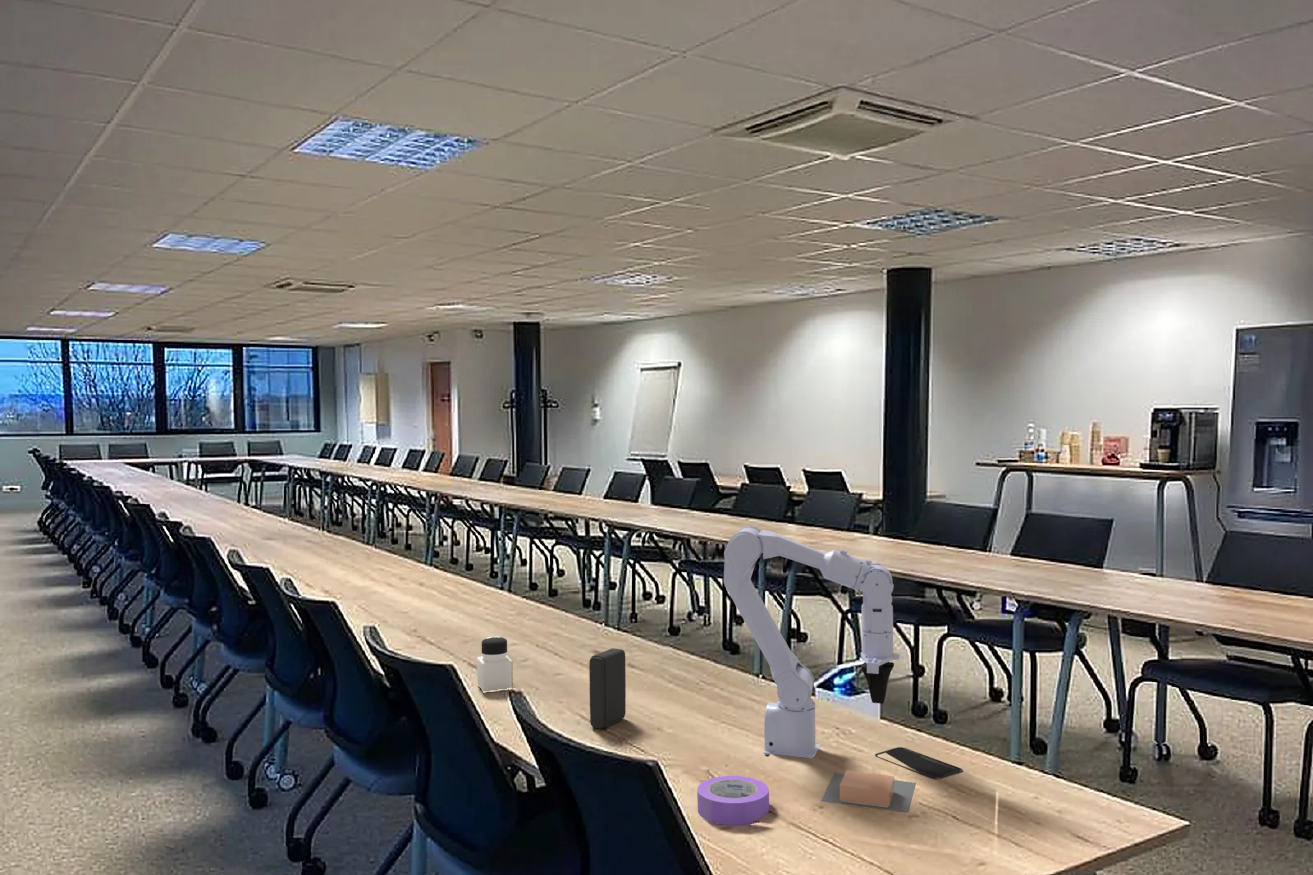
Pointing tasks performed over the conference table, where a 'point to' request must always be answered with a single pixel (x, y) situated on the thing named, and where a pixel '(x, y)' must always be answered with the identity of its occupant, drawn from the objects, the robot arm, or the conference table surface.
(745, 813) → the masking tape
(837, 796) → the mat
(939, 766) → the phone
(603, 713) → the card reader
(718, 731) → the conference table surface
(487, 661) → the medicine bottle
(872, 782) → the light brown rectangular block
